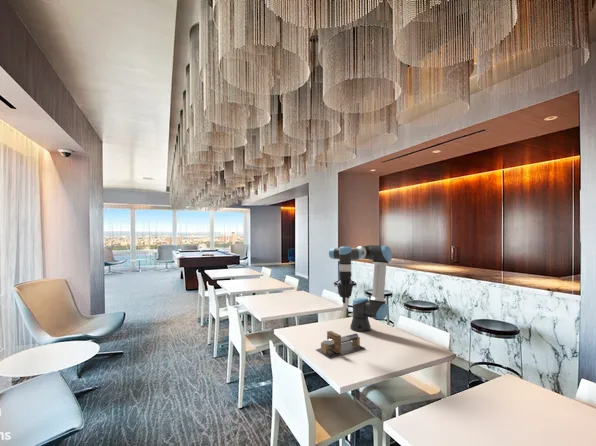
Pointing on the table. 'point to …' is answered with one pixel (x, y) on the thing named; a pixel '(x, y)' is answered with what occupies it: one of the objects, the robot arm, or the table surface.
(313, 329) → the table surface
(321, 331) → the table surface
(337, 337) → the collar
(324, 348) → the pipe rig
